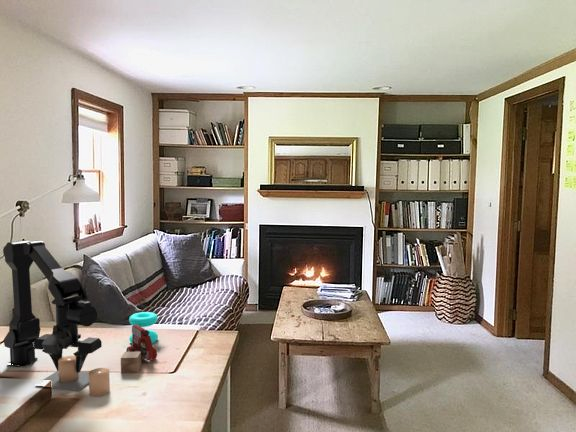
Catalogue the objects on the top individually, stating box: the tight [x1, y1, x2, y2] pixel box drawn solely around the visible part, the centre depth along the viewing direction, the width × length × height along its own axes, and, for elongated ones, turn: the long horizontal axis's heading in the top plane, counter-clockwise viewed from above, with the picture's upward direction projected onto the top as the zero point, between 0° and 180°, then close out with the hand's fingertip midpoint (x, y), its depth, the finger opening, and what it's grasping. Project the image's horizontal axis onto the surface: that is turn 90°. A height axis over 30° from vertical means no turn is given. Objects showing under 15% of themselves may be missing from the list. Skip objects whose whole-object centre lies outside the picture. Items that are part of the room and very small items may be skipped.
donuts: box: [128, 311, 159, 344], centre depth 176 cm, size 10×10×10 cm
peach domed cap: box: [88, 367, 111, 398], centre depth 136 cm, size 5×5×6 cm
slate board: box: [42, 370, 90, 392], centre depth 143 cm, size 14×11×1 cm
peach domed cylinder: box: [58, 355, 79, 383], centre depth 143 cm, size 5×5×6 cm
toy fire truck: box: [125, 325, 158, 363], centre depth 160 cm, size 7×12×10 cm, turn 42°
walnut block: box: [120, 351, 142, 374], centre depth 151 cm, size 5×5×5 cm
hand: (68, 371), depth 143 cm, fingers open, 6 cm apart
